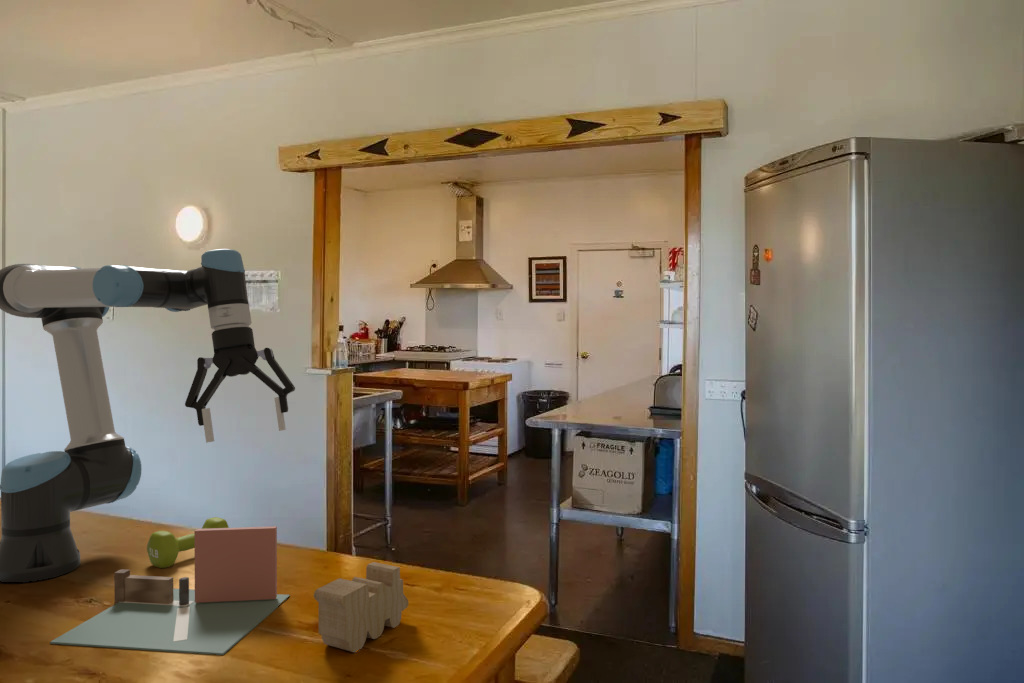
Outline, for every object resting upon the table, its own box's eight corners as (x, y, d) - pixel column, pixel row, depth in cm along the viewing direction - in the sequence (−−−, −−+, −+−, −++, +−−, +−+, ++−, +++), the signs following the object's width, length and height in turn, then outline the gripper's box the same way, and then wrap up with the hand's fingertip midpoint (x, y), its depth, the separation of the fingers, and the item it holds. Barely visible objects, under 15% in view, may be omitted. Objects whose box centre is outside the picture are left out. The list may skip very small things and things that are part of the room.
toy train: (408, 620, 121) (408, 562, 121) (341, 661, 106) (341, 596, 106) (382, 613, 123) (382, 557, 123) (313, 653, 108) (313, 589, 108)
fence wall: (114, 603, 127) (114, 572, 127) (121, 599, 129) (121, 569, 129) (185, 607, 125) (185, 576, 125) (191, 603, 127) (191, 572, 127)
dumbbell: (164, 572, 143) (163, 537, 143) (142, 565, 148) (142, 531, 148) (234, 551, 157) (234, 519, 157) (213, 545, 161) (213, 513, 161)
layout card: (50, 643, 111) (50, 641, 111) (145, 588, 134) (145, 586, 134) (223, 655, 108) (223, 653, 107) (289, 596, 131) (289, 594, 131)
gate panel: (194, 602, 126) (194, 530, 126) (196, 600, 127) (196, 528, 127) (275, 598, 128) (275, 528, 128) (276, 596, 129) (276, 526, 129)
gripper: (158, 336, 132) (172, 448, 131) (293, 317, 136) (308, 426, 135) (171, 339, 140) (186, 445, 139) (299, 321, 143) (314, 424, 142)
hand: (246, 436), depth 137 cm, fingers open, 13 cm apart
